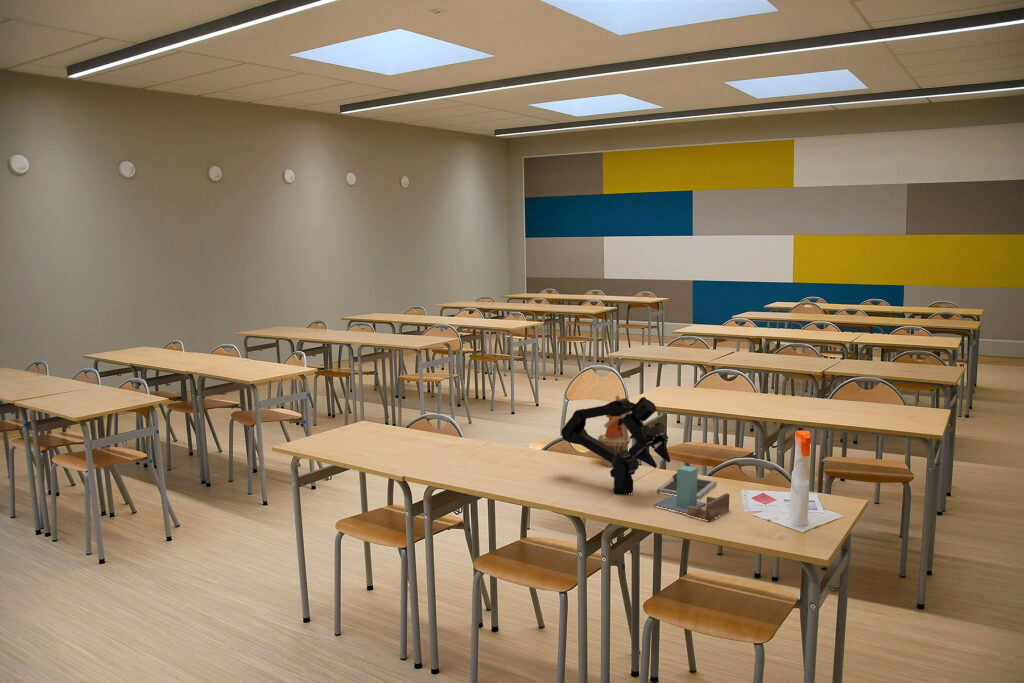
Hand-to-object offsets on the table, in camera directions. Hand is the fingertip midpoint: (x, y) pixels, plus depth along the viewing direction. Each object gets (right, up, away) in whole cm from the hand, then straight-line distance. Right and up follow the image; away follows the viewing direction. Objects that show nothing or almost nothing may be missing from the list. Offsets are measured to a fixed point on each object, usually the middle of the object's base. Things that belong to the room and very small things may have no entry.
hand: (663, 464), depth 272 cm
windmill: (-12, -8, +47) cm, 49 cm away
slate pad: (+5, -14, -3) cm, 15 cm away
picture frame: (+12, -12, +17) cm, 24 cm away
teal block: (+7, -13, -5) cm, 16 cm away
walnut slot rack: (+13, -15, -10) cm, 22 cm away
